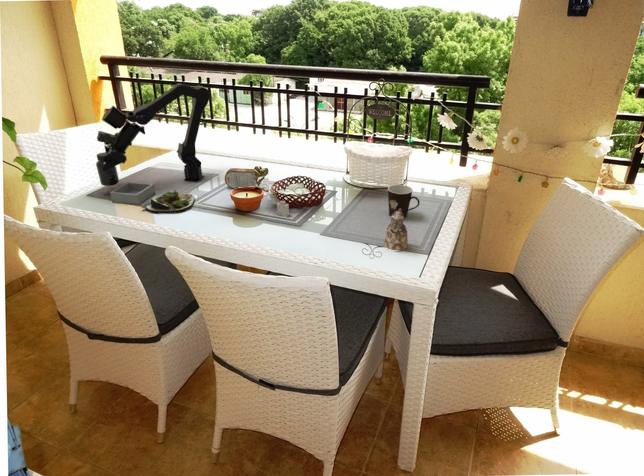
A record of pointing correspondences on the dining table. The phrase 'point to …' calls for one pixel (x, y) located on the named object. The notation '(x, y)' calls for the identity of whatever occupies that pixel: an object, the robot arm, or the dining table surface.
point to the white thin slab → (280, 205)
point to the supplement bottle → (106, 176)
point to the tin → (240, 178)
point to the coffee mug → (400, 199)
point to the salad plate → (170, 203)
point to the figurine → (396, 232)
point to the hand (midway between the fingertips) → (102, 167)
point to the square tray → (132, 193)
